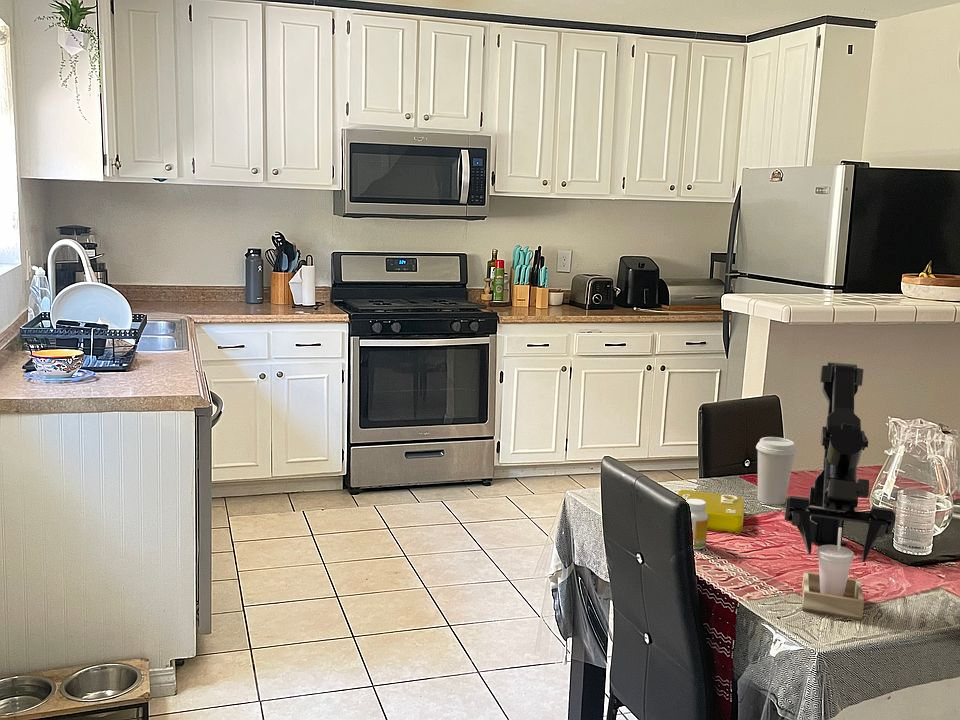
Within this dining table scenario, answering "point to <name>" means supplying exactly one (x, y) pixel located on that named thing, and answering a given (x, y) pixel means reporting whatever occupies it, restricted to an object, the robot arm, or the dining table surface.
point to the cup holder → (832, 598)
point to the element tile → (720, 509)
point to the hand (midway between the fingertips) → (836, 557)
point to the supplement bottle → (698, 522)
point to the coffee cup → (774, 469)
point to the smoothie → (834, 567)
